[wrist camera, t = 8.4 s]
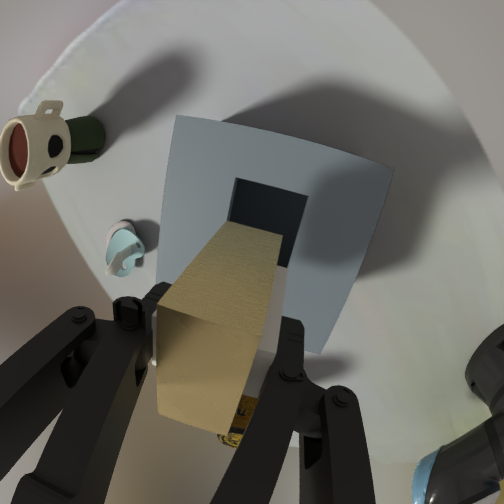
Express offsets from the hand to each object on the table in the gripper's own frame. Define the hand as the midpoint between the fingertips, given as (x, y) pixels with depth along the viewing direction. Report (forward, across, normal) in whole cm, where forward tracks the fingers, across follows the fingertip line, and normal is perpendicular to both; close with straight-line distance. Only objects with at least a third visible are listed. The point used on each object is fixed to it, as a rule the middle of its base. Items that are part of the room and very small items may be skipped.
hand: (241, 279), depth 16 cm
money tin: (+16, 0, 0) cm, 16 cm away
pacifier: (+16, +17, +9) cm, 26 cm away
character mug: (+16, +25, -4) cm, 30 cm away
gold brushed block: (0, 0, 0) cm, 0 cm away
